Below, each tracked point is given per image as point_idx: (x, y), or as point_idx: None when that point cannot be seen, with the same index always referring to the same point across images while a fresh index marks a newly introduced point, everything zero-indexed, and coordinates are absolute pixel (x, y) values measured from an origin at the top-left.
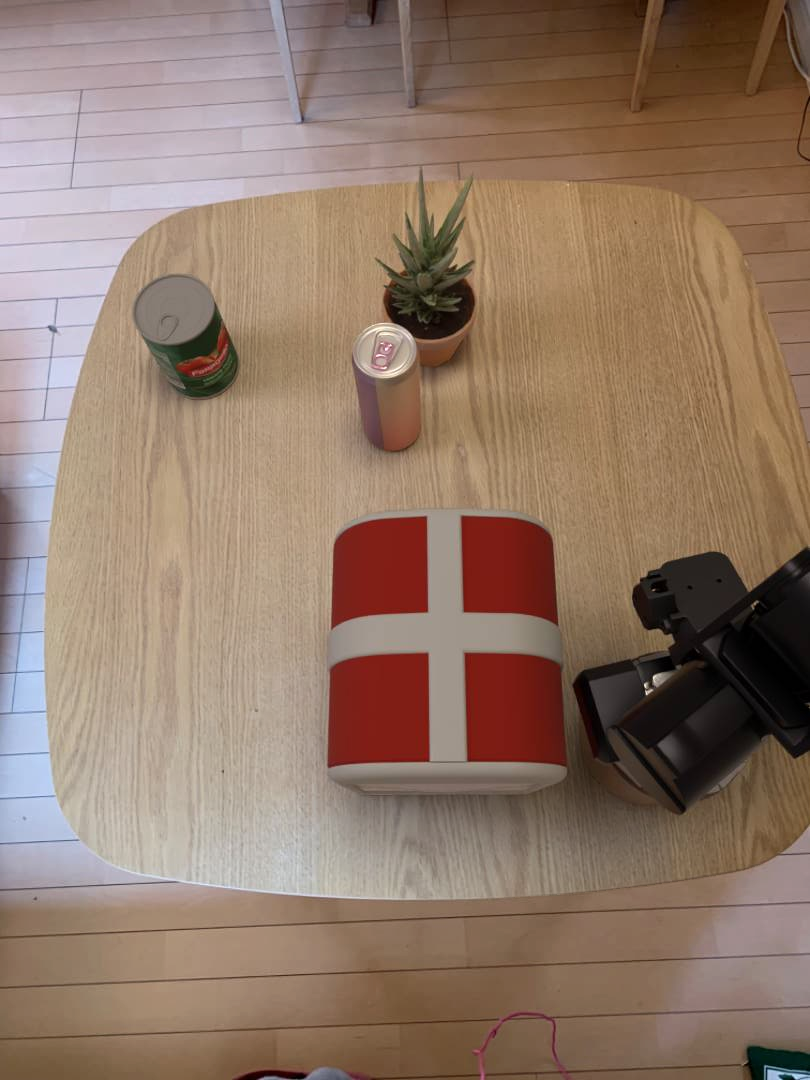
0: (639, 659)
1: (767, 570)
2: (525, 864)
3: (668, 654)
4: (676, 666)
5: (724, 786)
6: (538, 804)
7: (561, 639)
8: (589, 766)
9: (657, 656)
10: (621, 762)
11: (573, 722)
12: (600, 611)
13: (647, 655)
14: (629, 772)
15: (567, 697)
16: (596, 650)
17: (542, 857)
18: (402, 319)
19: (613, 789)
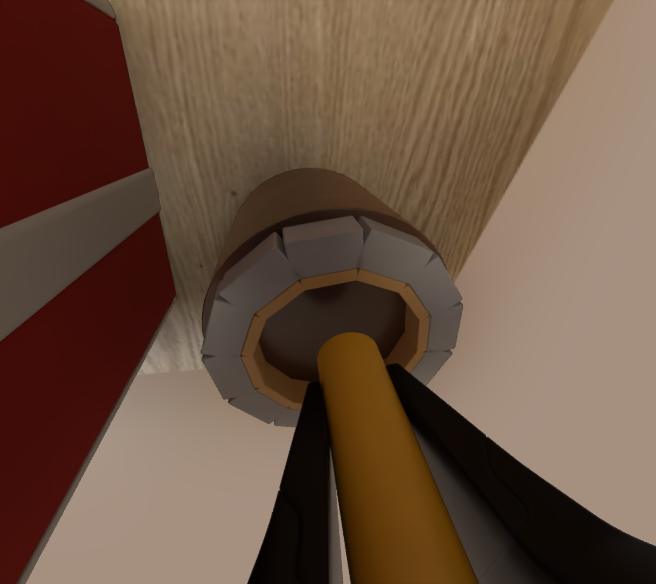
0: (284, 244)
1: (559, 8)
2: (177, 357)
3: (354, 237)
4: (364, 264)
5: None
6: (185, 312)
7: None
8: None
9: (328, 241)
10: (234, 404)
11: (223, 230)
12: (270, 45)
13: (311, 215)
14: (247, 412)
15: (213, 197)
16: (258, 126)
17: (194, 352)
18: None
19: None
